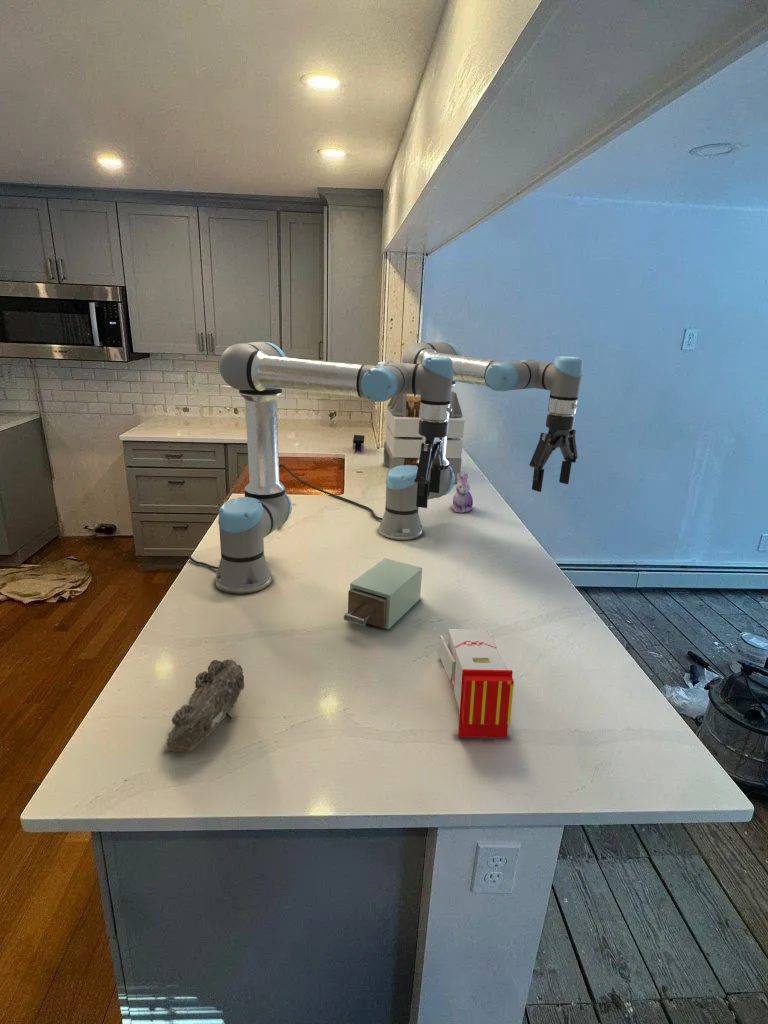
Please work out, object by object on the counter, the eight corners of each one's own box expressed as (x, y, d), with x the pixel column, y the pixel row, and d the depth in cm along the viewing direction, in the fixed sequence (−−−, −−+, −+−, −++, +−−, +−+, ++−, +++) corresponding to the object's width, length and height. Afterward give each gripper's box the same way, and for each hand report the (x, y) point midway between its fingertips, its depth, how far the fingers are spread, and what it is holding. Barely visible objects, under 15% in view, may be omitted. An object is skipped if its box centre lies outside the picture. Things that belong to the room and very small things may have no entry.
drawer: (371, 639, 134) (372, 611, 131) (335, 627, 138) (335, 600, 136) (413, 600, 153) (415, 575, 150) (380, 590, 157) (381, 565, 155)
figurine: (459, 514, 221) (463, 477, 216) (445, 506, 229) (448, 470, 224) (479, 511, 225) (483, 475, 220) (464, 503, 234) (467, 468, 228)
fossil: (192, 660, 117) (244, 628, 112) (224, 691, 120) (276, 661, 115) (142, 746, 98) (202, 712, 93) (182, 779, 101) (242, 748, 96)
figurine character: (364, 456, 306) (364, 446, 320) (364, 442, 303) (365, 433, 317) (351, 455, 306) (352, 446, 320) (352, 442, 303) (353, 433, 316)
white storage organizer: (382, 463, 289) (386, 382, 275) (445, 464, 293) (451, 384, 279) (390, 482, 257) (394, 392, 243) (460, 483, 261) (468, 394, 247)
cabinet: (388, 629, 140) (390, 595, 137) (349, 616, 145) (350, 583, 142) (420, 599, 156) (422, 567, 152) (383, 588, 161) (385, 557, 157)
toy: (488, 613, 130) (523, 677, 101) (484, 667, 133) (517, 744, 104) (435, 612, 130) (455, 676, 101) (432, 666, 133) (451, 743, 103)
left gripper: (437, 430, 131) (430, 516, 138) (458, 413, 154) (451, 488, 161) (406, 427, 133) (401, 511, 141) (431, 411, 156) (426, 484, 163)
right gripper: (546, 420, 148) (535, 497, 155) (597, 412, 163) (585, 483, 170) (522, 415, 153) (513, 490, 160) (574, 408, 168) (563, 477, 176)
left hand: (428, 499), depth 151 cm, fingers open, 13 cm apart
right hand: (550, 486), depth 165 cm, fingers open, 13 cm apart
